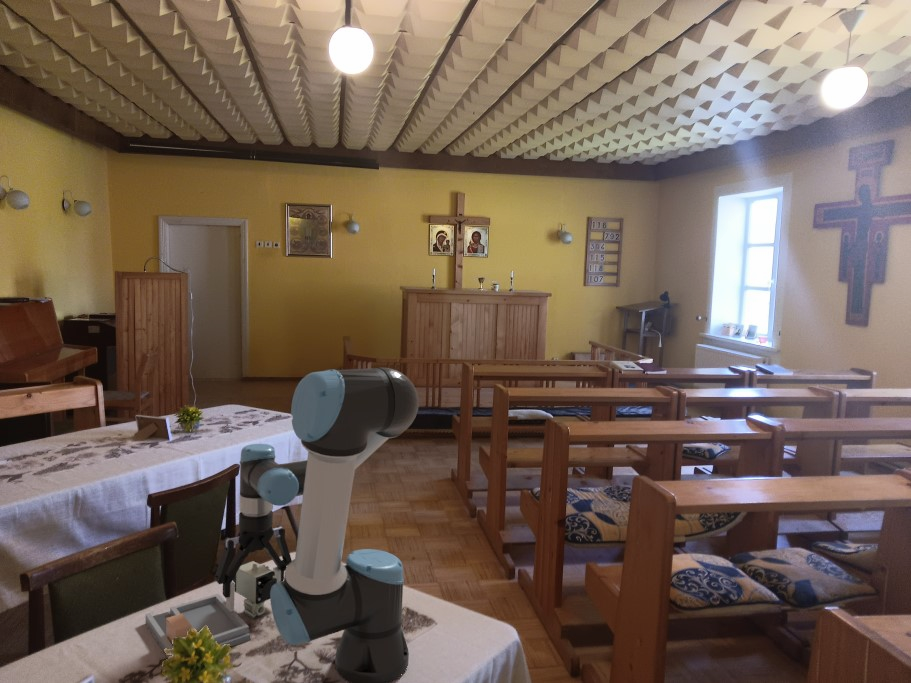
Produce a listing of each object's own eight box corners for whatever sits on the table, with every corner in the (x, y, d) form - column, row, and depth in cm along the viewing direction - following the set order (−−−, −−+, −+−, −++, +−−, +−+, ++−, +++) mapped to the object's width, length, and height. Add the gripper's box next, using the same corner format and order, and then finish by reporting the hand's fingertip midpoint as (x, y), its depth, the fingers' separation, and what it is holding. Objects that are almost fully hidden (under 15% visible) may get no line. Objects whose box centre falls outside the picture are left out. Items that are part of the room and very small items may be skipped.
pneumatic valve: (260, 626, 142) (261, 575, 141) (230, 608, 149) (231, 560, 148) (280, 616, 147) (281, 567, 146) (250, 599, 154) (251, 552, 153)
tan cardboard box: (191, 645, 132) (191, 625, 131) (175, 651, 130) (175, 630, 129) (182, 633, 136) (182, 613, 136) (166, 638, 134) (166, 618, 134)
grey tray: (250, 639, 137) (250, 624, 137) (173, 666, 126) (173, 649, 126) (216, 602, 152) (216, 587, 152) (145, 623, 141) (145, 608, 141)
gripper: (294, 497, 156) (291, 582, 158) (199, 516, 141) (197, 609, 143) (309, 506, 150) (305, 594, 152) (212, 526, 135) (209, 624, 137)
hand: (253, 602), depth 147 cm, fingers open, 11 cm apart
